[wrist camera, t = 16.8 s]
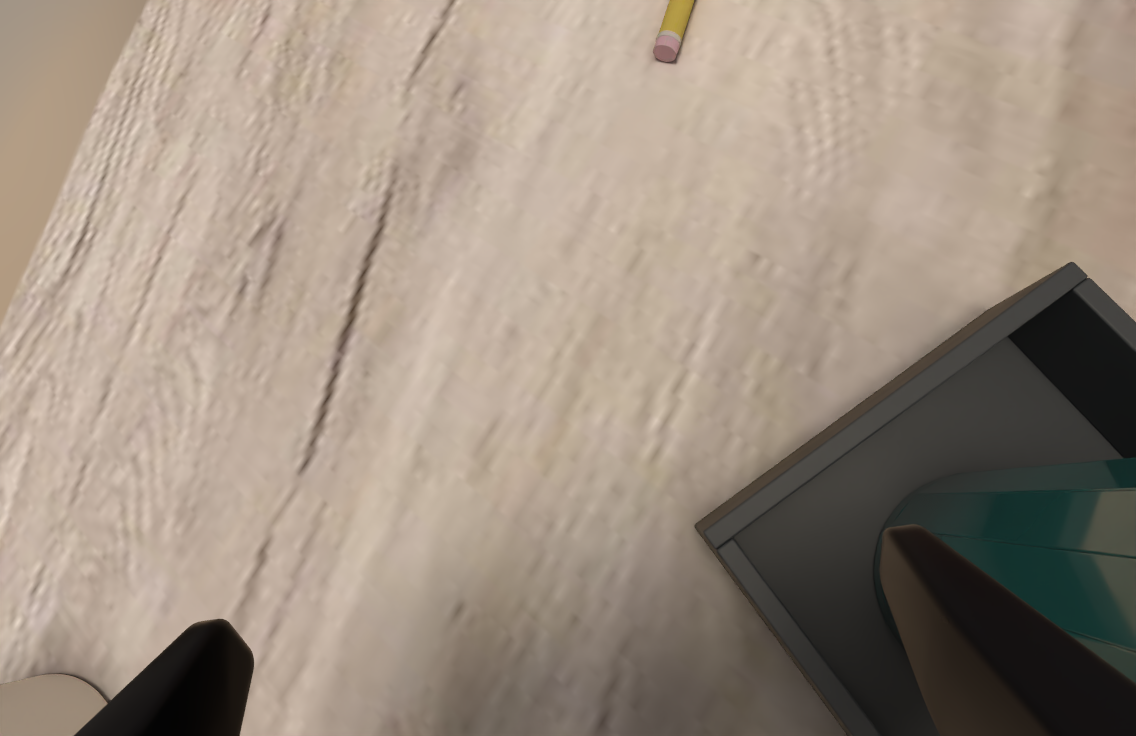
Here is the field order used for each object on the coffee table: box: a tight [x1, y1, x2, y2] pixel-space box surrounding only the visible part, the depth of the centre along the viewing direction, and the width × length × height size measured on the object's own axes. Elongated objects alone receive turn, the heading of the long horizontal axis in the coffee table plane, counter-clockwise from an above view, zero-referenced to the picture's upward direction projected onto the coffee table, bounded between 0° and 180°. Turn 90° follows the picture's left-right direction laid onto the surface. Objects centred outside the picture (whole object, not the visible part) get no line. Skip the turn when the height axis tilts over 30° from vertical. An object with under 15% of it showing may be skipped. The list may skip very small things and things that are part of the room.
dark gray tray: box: [694, 262, 1136, 736], centre depth 18 cm, size 13×13×5 cm
